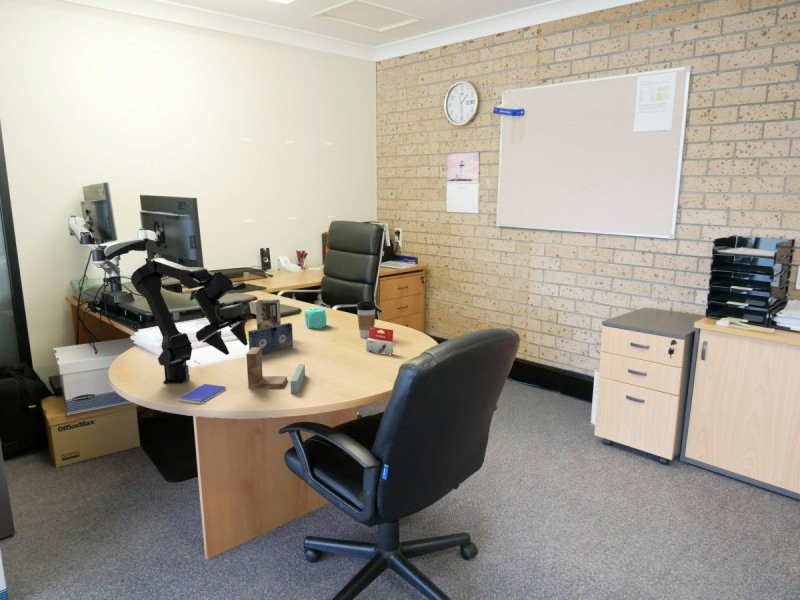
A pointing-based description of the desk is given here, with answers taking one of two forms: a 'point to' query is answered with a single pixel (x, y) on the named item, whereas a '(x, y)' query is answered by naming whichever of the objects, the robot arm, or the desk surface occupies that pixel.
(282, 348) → the vhs cassette tape
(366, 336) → the coffee cup
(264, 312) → the coffee box
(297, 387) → the board
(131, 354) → the desk surface
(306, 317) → the decorative dice
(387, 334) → the ink cartridge box
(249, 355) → the bookend
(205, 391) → the hard drive
